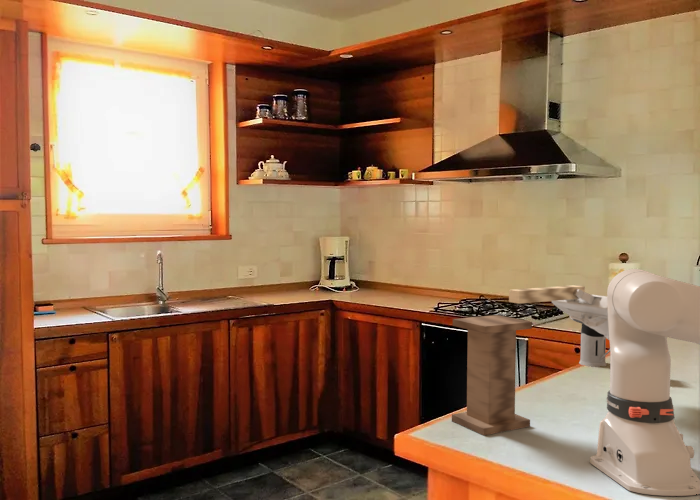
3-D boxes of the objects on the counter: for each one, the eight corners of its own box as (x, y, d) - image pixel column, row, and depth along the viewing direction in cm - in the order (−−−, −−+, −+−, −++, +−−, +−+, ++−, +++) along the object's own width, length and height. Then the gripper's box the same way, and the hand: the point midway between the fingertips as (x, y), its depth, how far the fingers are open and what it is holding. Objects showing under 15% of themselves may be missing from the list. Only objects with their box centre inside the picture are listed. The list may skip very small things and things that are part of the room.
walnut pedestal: (496, 412, 168) (497, 314, 166) (530, 426, 157) (531, 321, 156) (451, 421, 161) (452, 319, 160) (483, 435, 151) (485, 326, 149)
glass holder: (593, 360, 229) (594, 317, 228) (624, 369, 216) (625, 323, 215) (573, 362, 226) (574, 318, 225) (603, 371, 212) (604, 325, 212)
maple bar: (573, 296, 173) (574, 285, 173) (584, 298, 170) (584, 286, 170) (508, 301, 163) (509, 289, 162) (518, 303, 160) (519, 291, 159)
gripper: (629, 330, 166) (596, 306, 160) (567, 319, 184) (535, 297, 178) (638, 308, 167) (605, 283, 161) (576, 299, 185) (544, 276, 179)
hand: (568, 290), depth 169 cm, fingers closed on maple bar, 3 cm apart
